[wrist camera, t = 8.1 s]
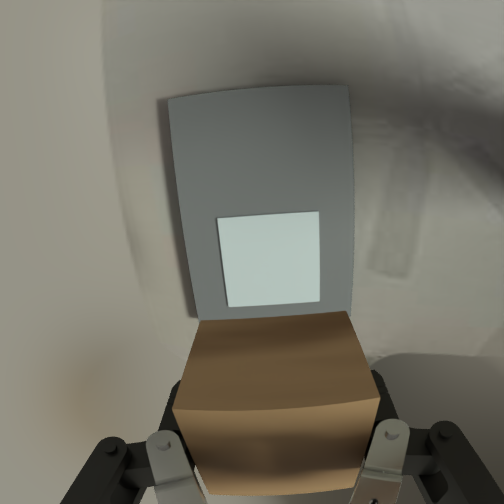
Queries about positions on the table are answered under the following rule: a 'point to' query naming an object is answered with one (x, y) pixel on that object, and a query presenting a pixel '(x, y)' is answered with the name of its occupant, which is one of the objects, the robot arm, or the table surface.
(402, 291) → the table surface
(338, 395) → the walnut block
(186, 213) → the board
